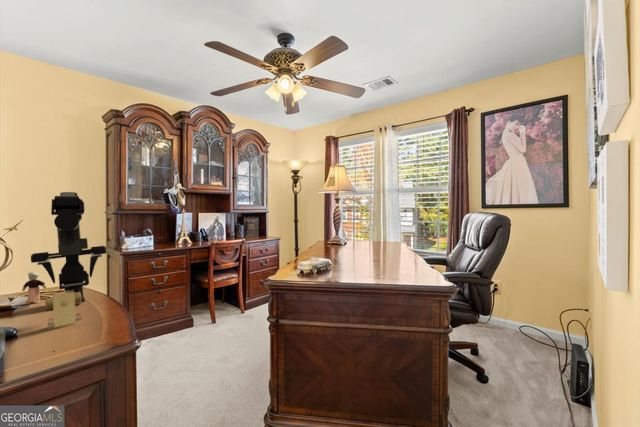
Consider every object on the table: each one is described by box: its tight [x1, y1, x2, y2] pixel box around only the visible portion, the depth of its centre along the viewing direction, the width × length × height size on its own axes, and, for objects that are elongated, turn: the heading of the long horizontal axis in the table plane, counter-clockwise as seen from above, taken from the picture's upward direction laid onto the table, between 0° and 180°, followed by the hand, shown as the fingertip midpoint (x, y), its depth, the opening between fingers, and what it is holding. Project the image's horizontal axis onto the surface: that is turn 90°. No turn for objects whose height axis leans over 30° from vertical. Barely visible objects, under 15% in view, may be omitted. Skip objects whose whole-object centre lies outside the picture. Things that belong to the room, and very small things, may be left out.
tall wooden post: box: [52, 290, 76, 329], centre depth 91 cm, size 3×5×10 cm
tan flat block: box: [47, 313, 83, 332], centre depth 94 cm, size 12×8×2 cm
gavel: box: [45, 292, 82, 311], centre depth 107 cm, size 21×5×10 cm
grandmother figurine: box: [21, 271, 47, 305], centre depth 118 cm, size 8×4×13 cm, turn 120°
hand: (73, 280), depth 97 cm, fingers open, 9 cm apart
